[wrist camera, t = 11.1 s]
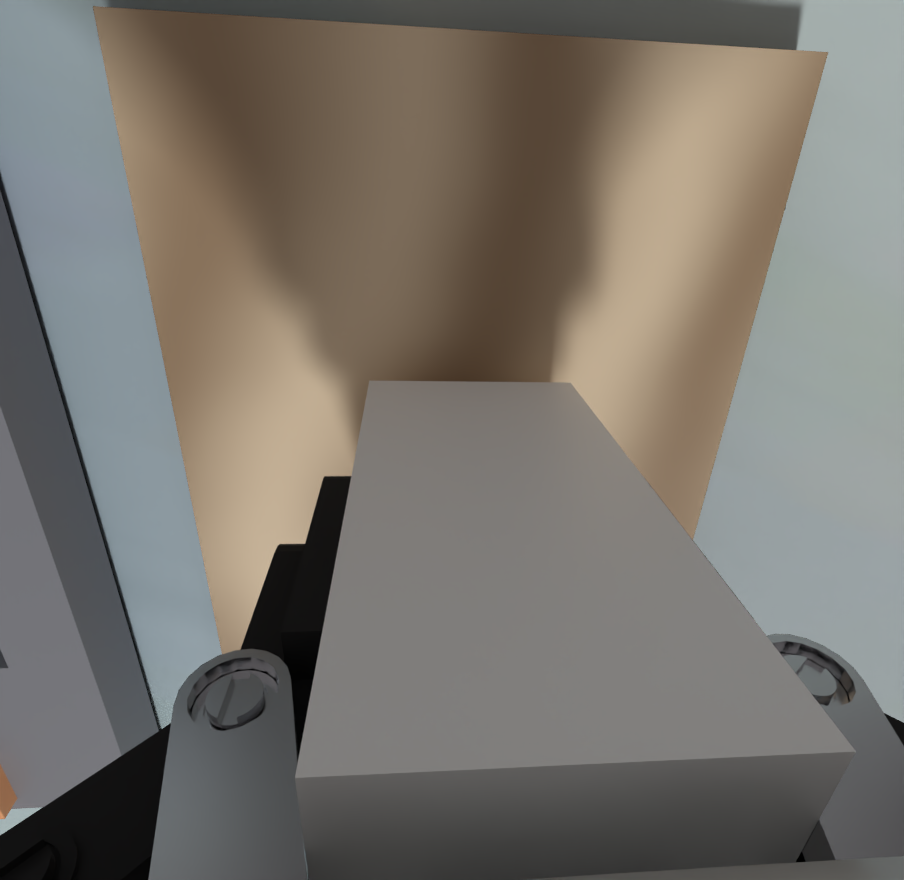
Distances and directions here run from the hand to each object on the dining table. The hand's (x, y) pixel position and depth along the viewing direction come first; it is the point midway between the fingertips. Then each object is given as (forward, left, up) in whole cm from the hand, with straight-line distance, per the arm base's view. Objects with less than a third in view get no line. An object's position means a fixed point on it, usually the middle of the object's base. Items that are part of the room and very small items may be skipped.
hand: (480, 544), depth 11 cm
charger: (0, 0, -3) cm, 3 cm away
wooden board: (0, 0, -5) cm, 5 cm away
